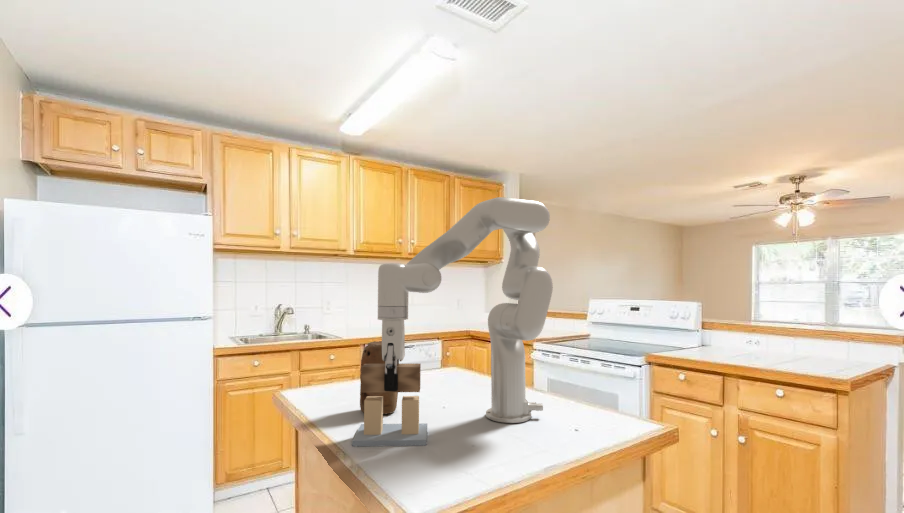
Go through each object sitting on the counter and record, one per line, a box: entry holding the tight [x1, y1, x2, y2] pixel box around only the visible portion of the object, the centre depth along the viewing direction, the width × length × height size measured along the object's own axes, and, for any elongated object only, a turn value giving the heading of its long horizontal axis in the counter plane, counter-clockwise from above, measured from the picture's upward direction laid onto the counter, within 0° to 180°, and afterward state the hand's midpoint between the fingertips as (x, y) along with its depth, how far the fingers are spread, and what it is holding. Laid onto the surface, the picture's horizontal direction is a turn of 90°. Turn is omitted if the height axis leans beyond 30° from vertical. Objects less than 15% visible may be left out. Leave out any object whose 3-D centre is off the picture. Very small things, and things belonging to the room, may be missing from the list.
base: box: [351, 395, 428, 447], centre depth 108 cm, size 17×12×9 cm
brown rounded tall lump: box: [359, 340, 399, 415], centre depth 130 cm, size 11×8×20 cm
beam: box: [360, 363, 422, 393], centre depth 109 cm, size 14×4×6 cm, turn 92°
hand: (392, 387), depth 109 cm, fingers closed on beam, 4 cm apart
